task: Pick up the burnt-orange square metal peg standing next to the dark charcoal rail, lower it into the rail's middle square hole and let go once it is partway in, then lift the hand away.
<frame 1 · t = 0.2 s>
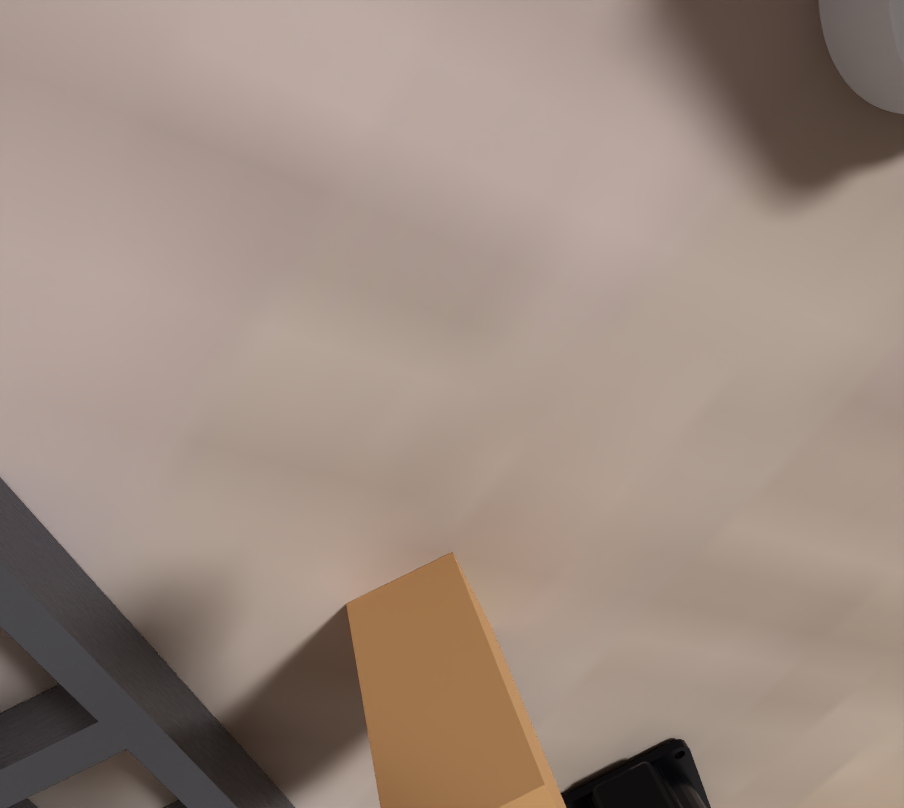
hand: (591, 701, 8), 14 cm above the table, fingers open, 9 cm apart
rail: (110, 770, 25), on the table
orange peg: (421, 616, 26), on the table
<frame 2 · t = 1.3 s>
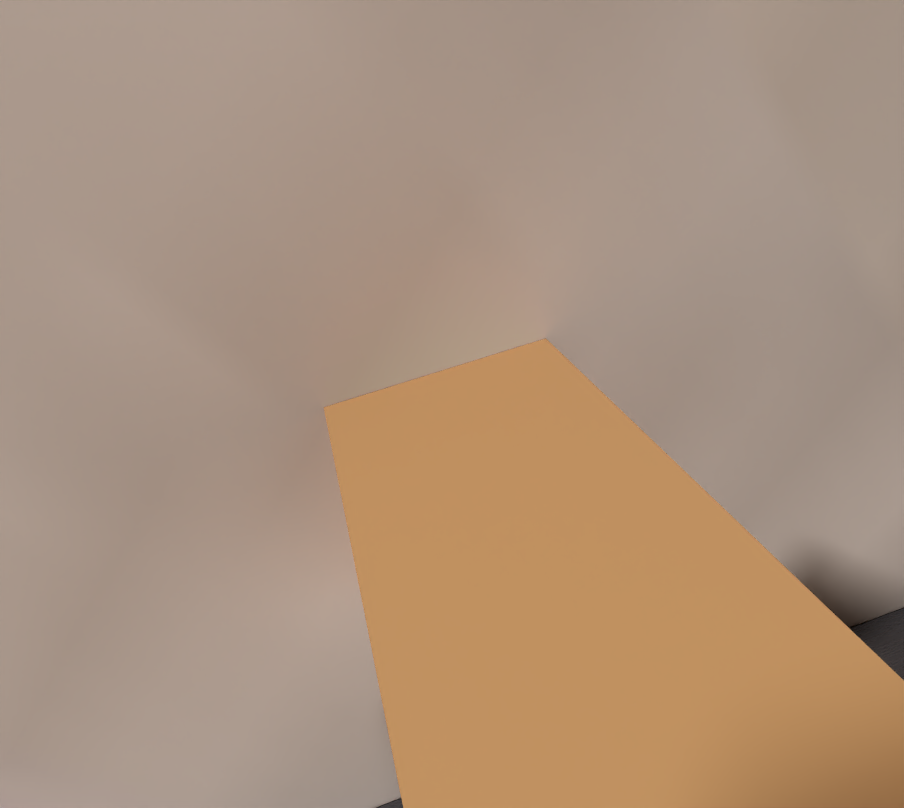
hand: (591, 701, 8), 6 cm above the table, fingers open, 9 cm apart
orange peg: (461, 468, 13), on the table
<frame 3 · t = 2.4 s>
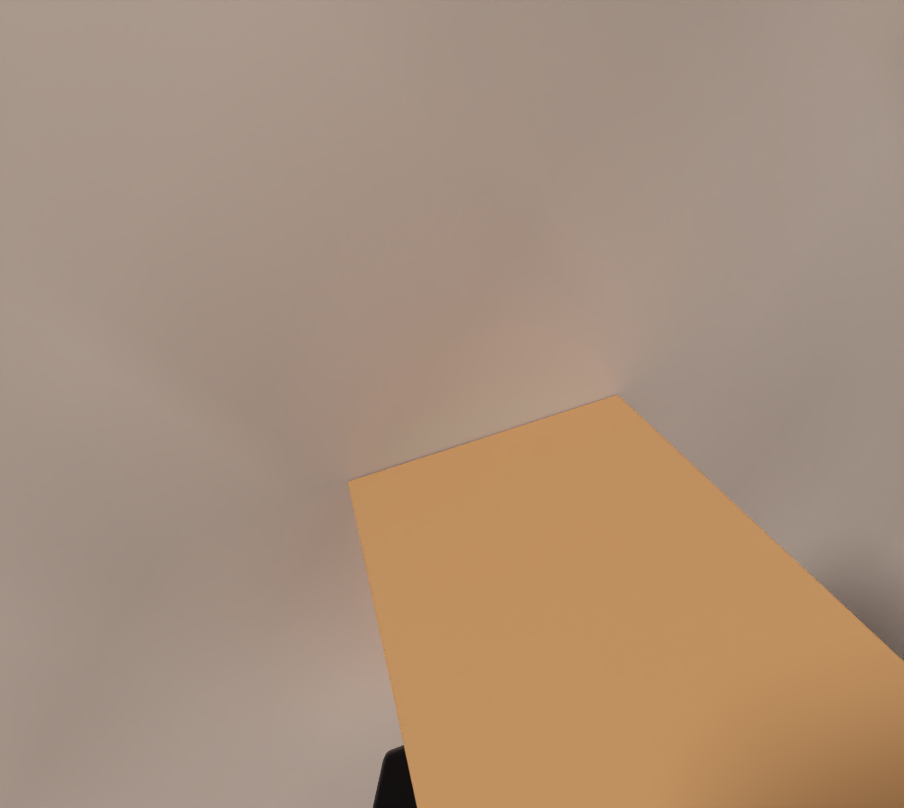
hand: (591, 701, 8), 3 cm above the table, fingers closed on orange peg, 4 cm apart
orange peg: (511, 547, 11), on the table, touching gripper
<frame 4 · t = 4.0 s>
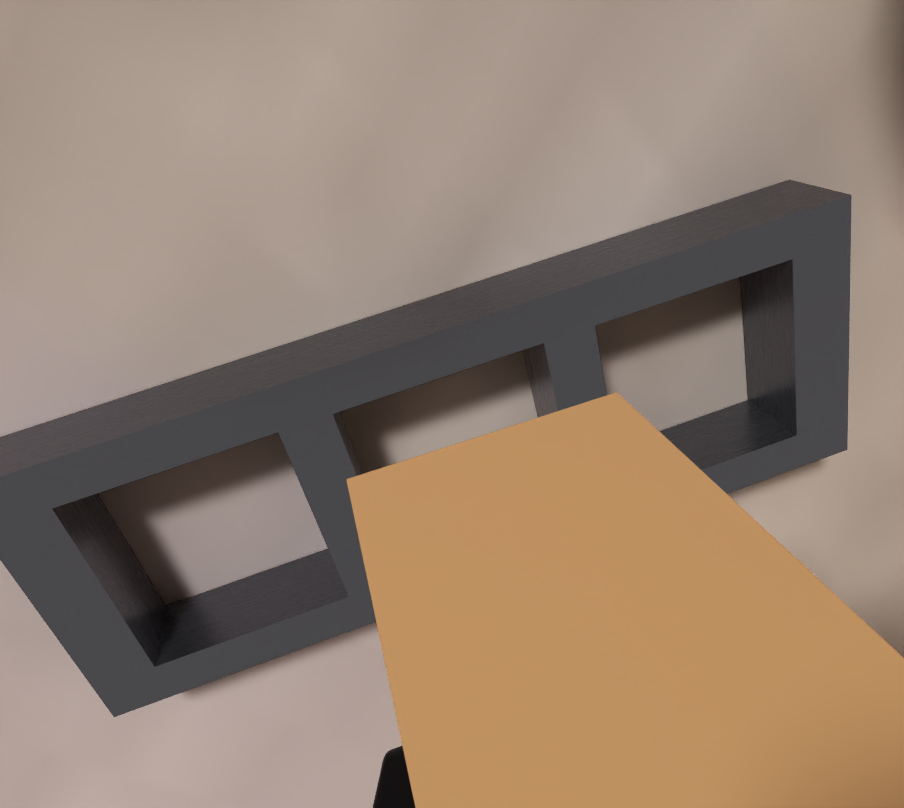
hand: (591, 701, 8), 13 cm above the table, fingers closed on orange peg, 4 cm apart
rail: (445, 425, 22), on the table
orange peg: (510, 545, 11), point 10 cm above the table, touching gripper
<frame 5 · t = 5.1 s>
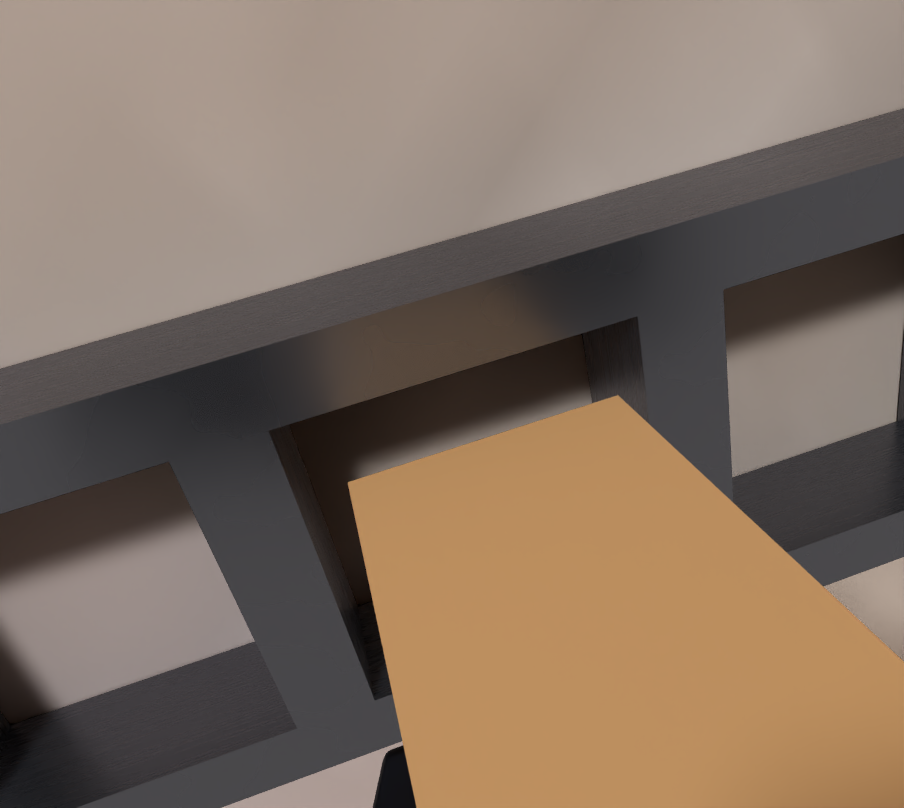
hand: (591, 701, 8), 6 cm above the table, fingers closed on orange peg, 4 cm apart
rail: (457, 451, 14), on the table
orange peg: (511, 547, 11), point 3 cm above the table, touching gripper
when the fingers open (4 cm above the table, at t = 5.8 s): orange peg drops 1 cm, resting in rail.
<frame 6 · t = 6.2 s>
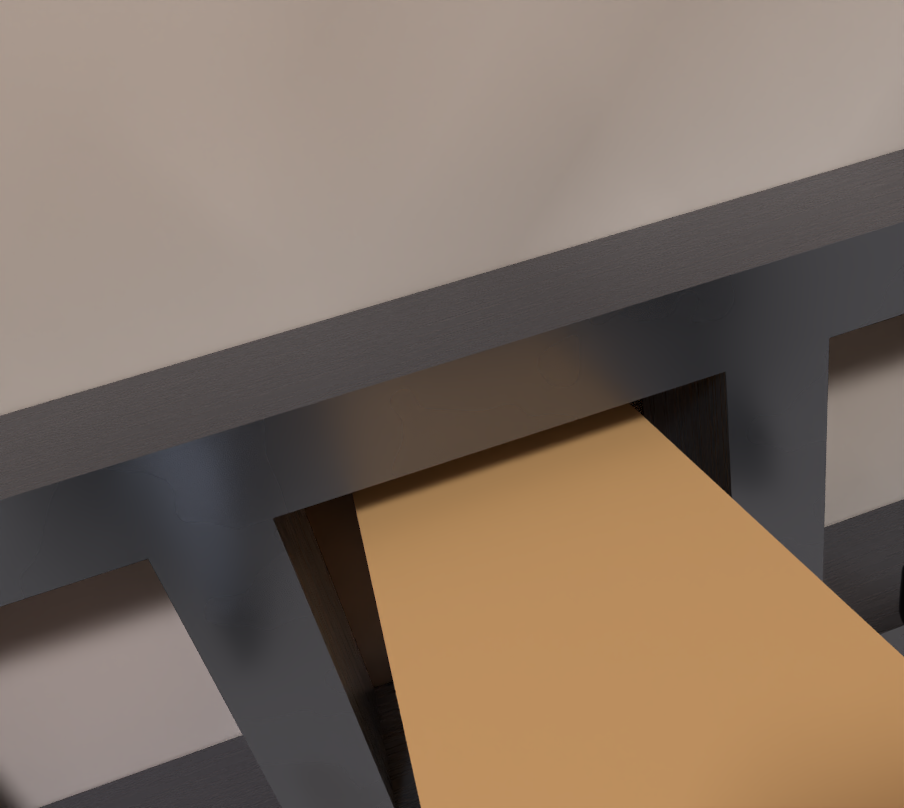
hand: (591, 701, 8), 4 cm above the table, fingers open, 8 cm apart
rail: (492, 514, 12), on the table
orange peg: (493, 511, 12), resting in rail
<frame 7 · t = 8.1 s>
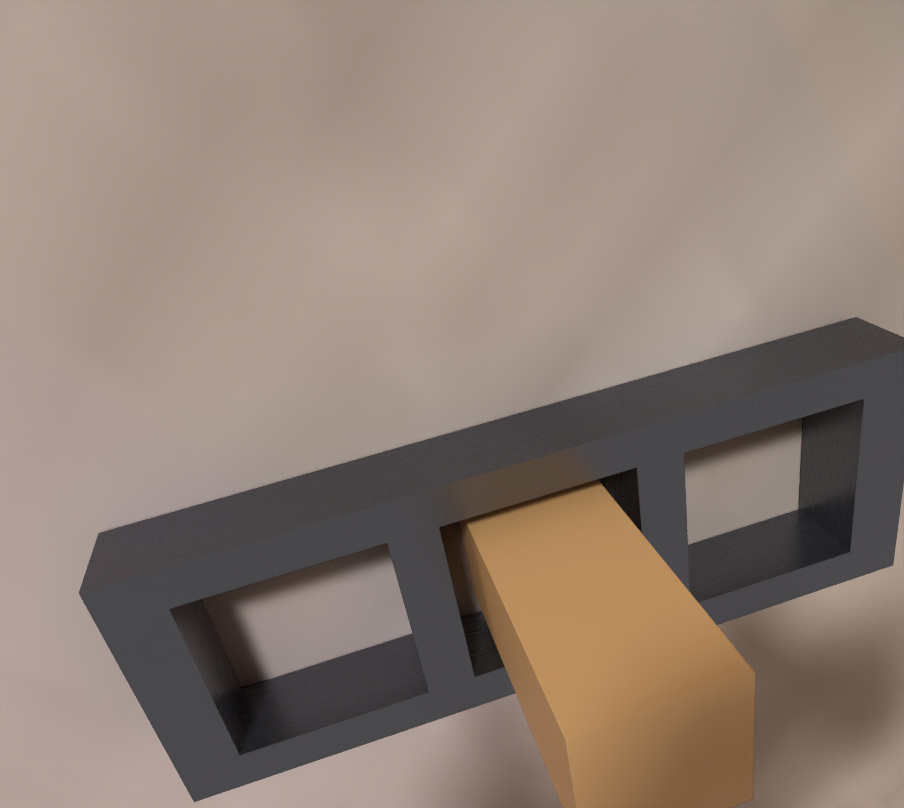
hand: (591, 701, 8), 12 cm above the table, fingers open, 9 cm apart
rail: (523, 527, 23), on the table
orange peg: (524, 525, 23), resting in rail
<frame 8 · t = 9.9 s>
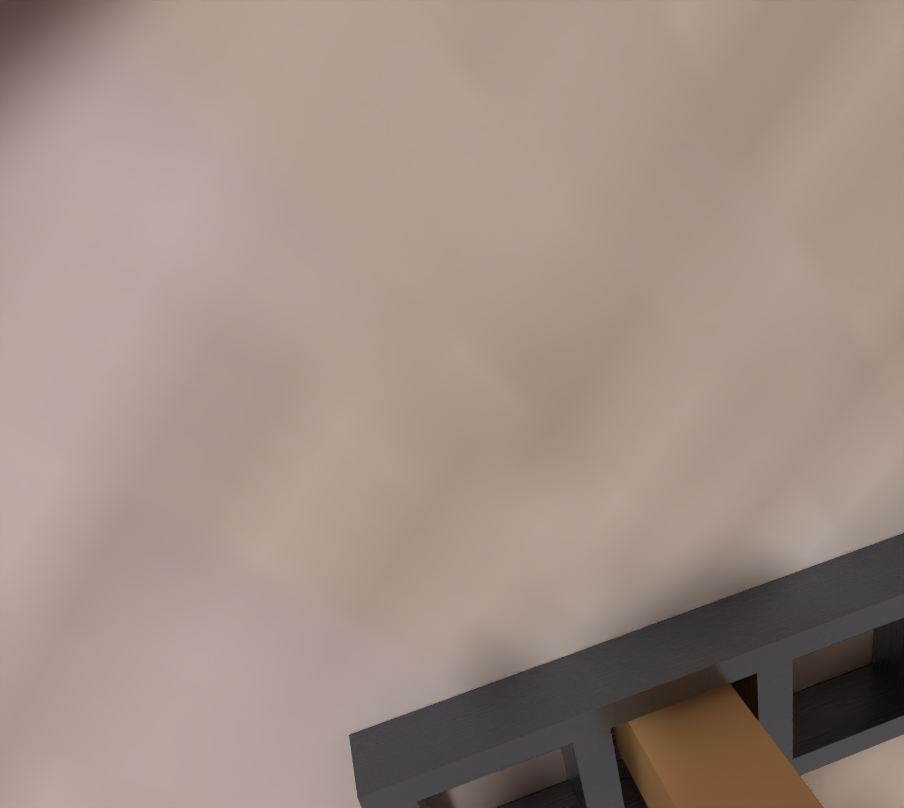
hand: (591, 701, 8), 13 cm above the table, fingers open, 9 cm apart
rail: (657, 698, 29), on the table
orange peg: (657, 697, 29), resting in rail
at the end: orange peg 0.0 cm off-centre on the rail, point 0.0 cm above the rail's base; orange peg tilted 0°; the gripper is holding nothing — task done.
